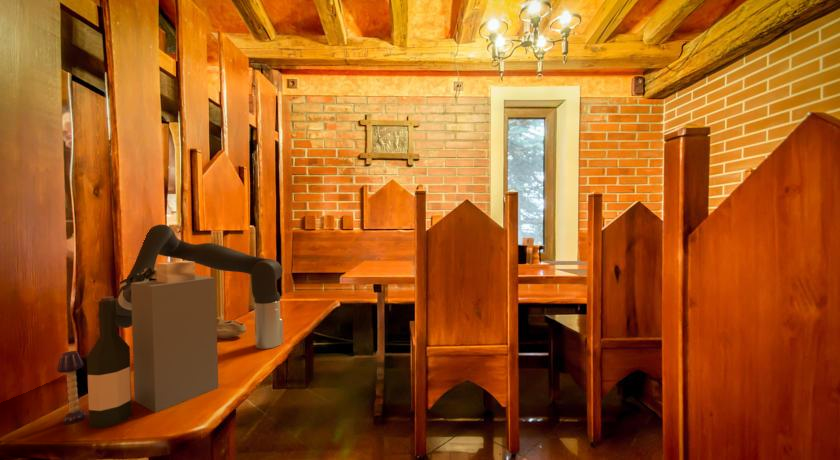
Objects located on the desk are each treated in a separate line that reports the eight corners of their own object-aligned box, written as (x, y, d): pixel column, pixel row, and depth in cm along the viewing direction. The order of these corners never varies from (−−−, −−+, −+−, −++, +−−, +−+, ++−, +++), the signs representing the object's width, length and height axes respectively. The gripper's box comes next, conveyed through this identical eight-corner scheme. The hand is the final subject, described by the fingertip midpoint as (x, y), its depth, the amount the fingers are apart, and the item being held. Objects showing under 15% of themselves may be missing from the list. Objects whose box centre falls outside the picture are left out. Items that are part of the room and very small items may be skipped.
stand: (196, 379, 112) (193, 275, 112) (218, 387, 106) (215, 277, 105) (134, 401, 99) (130, 283, 98) (155, 412, 92) (151, 286, 92)
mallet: (162, 275, 113) (162, 259, 113) (195, 279, 103) (194, 261, 103) (135, 278, 107) (135, 261, 107) (167, 283, 97) (167, 264, 97)
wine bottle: (96, 432, 84) (91, 302, 83) (83, 422, 88) (78, 298, 88) (139, 415, 91) (135, 295, 90) (124, 407, 95) (121, 292, 95)
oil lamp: (240, 341, 149) (240, 321, 149) (204, 341, 150) (204, 321, 149) (254, 332, 160) (253, 314, 160) (220, 333, 161) (220, 314, 160)
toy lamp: (69, 426, 87) (66, 356, 86) (53, 424, 88) (51, 355, 87) (90, 415, 91) (88, 349, 91) (76, 414, 92) (73, 348, 92)
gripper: (106, 286, 109) (127, 259, 101) (159, 279, 121) (181, 255, 113) (112, 309, 108) (133, 284, 100) (165, 300, 119) (188, 277, 111)
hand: (158, 268), depth 106 cm, fingers closed on mallet, 2 cm apart
